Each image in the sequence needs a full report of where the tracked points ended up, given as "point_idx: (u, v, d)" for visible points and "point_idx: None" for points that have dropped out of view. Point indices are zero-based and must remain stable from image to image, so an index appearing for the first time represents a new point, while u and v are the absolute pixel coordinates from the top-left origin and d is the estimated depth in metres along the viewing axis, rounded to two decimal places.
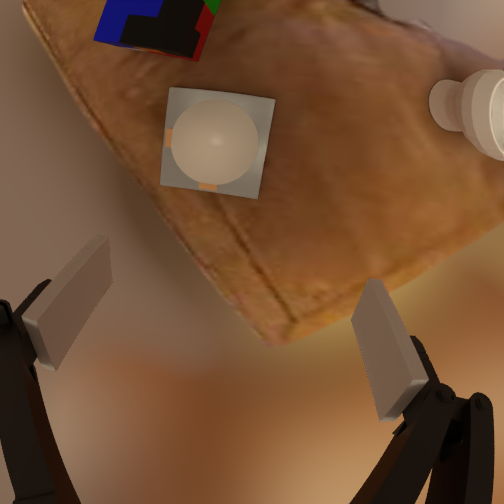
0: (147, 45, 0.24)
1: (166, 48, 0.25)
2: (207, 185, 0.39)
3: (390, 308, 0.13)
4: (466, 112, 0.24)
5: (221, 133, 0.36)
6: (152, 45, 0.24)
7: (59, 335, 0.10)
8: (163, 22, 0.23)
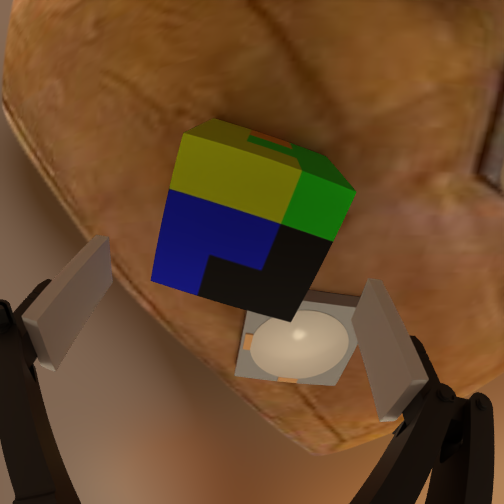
0: (246, 308, 0.21)
1: (275, 317, 0.21)
2: (287, 379, 0.36)
3: (390, 308, 0.13)
4: None
5: (310, 341, 0.33)
6: (254, 310, 0.21)
7: (59, 335, 0.10)
8: (272, 281, 0.20)
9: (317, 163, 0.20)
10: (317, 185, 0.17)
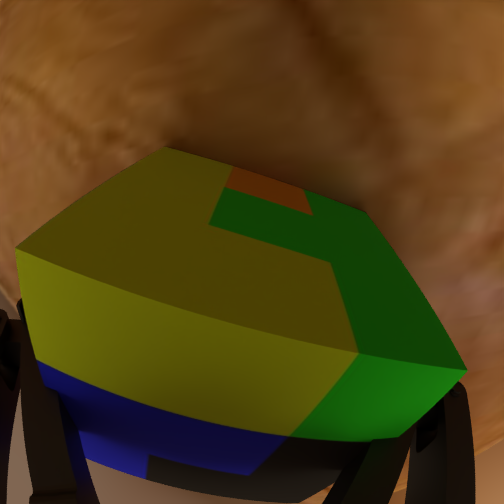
0: (226, 495, 0.10)
1: (274, 501, 0.10)
2: None
3: None
4: None
5: None
6: (239, 497, 0.10)
7: None
8: (268, 482, 0.09)
9: (369, 260, 0.09)
10: (388, 377, 0.06)
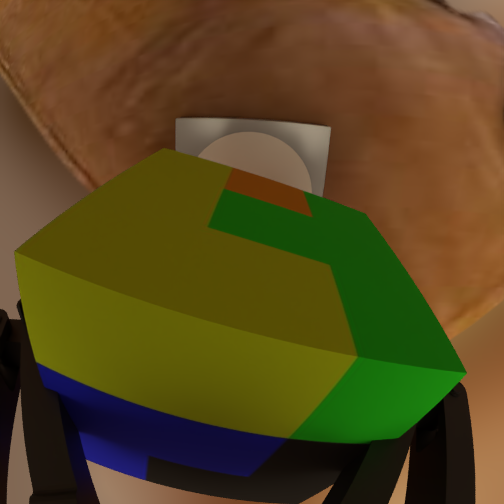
0: (226, 496, 0.10)
1: (274, 502, 0.10)
2: None
3: None
4: None
5: None
6: (239, 498, 0.10)
7: None
8: (268, 483, 0.09)
9: (369, 262, 0.09)
10: (387, 379, 0.06)
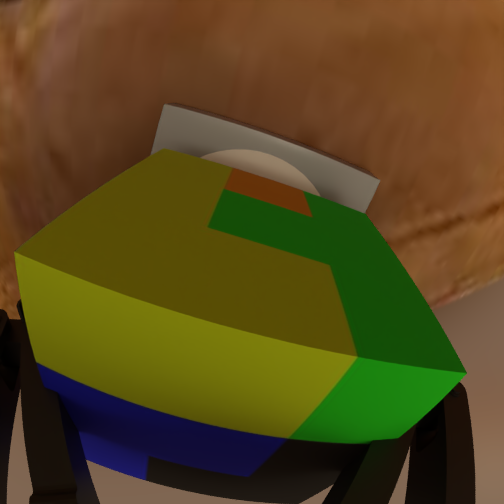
0: (226, 496, 0.10)
1: (274, 502, 0.10)
2: None
3: None
4: None
5: None
6: (239, 498, 0.10)
7: None
8: (268, 483, 0.09)
9: (369, 262, 0.09)
10: (387, 380, 0.06)
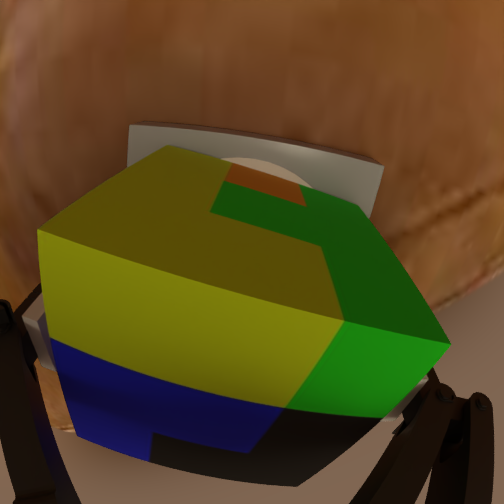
0: (227, 478, 0.11)
1: (273, 484, 0.11)
2: None
3: None
4: None
5: None
6: (240, 480, 0.11)
7: None
8: (267, 461, 0.09)
9: (358, 246, 0.10)
10: (374, 346, 0.06)
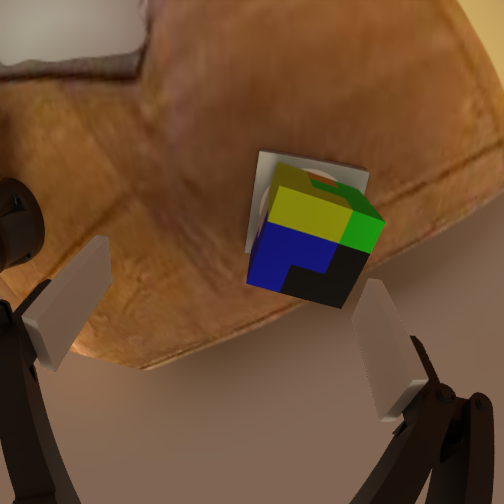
0: (311, 300, 0.30)
1: (331, 305, 0.30)
2: None
3: (390, 308, 0.13)
4: None
5: None
6: (317, 301, 0.30)
7: (59, 335, 0.10)
8: (330, 280, 0.29)
9: (357, 200, 0.30)
10: (361, 219, 0.26)
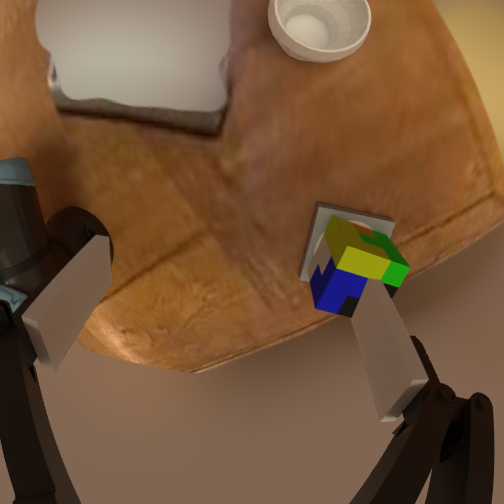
0: None
1: None
2: None
3: (390, 308, 0.13)
4: (328, 61, 0.27)
5: None
6: None
7: (59, 335, 0.10)
8: None
9: (390, 248, 0.41)
10: (395, 266, 0.38)
